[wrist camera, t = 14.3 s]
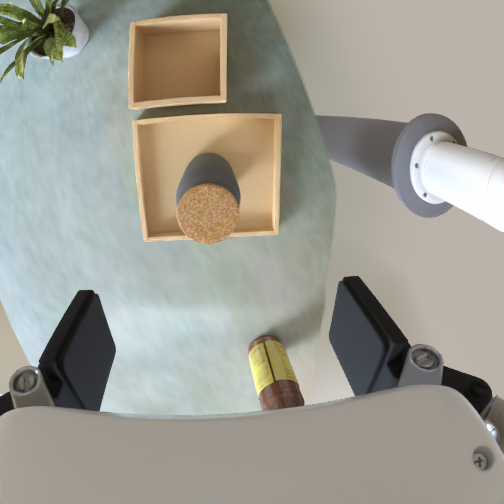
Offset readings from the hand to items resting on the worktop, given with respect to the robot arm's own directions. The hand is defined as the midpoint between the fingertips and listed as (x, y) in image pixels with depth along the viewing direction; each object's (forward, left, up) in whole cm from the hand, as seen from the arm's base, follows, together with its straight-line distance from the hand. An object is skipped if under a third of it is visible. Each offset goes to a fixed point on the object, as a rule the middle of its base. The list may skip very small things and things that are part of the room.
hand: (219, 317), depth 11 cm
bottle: (0, 0, -27) cm, 27 cm away
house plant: (+19, -20, -28) cm, 40 cm away
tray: (+1, 0, -28) cm, 28 cm away
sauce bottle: (-8, +29, -28) cm, 41 cm away
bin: (+3, -14, -28) cm, 31 cm away
